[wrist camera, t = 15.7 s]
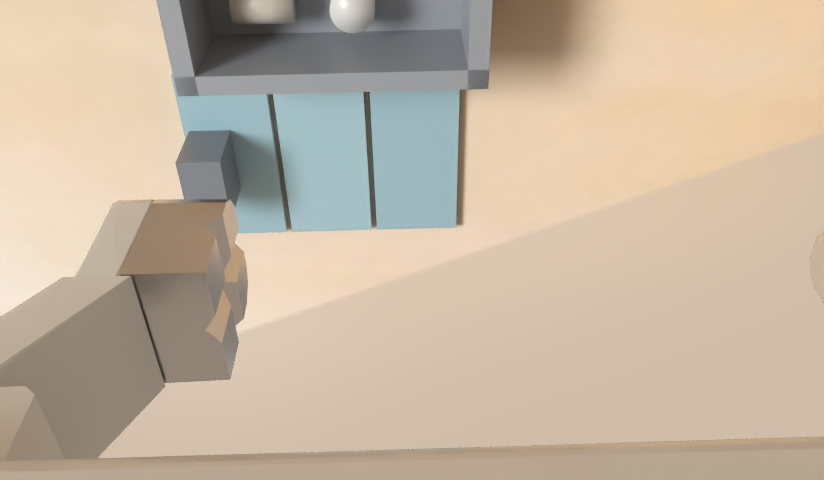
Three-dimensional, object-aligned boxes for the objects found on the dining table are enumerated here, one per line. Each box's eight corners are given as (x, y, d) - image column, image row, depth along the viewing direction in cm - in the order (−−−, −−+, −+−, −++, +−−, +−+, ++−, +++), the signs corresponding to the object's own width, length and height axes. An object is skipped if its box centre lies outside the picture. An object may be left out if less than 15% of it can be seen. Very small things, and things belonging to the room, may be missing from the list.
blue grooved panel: (459, 62, 43) (465, 97, 39) (455, 219, 49) (460, 261, 46) (174, 69, 42) (155, 105, 39) (209, 226, 49) (196, 268, 46)
